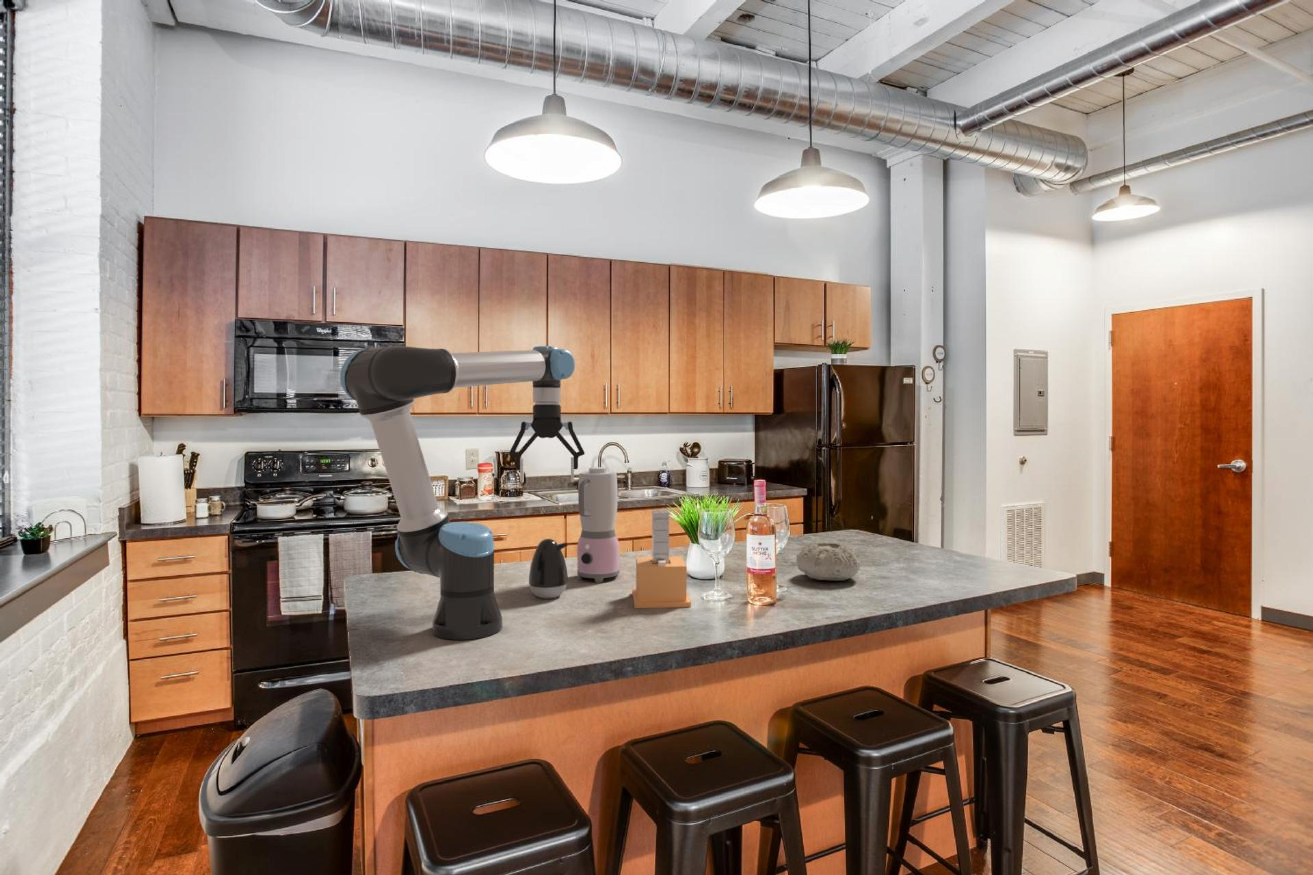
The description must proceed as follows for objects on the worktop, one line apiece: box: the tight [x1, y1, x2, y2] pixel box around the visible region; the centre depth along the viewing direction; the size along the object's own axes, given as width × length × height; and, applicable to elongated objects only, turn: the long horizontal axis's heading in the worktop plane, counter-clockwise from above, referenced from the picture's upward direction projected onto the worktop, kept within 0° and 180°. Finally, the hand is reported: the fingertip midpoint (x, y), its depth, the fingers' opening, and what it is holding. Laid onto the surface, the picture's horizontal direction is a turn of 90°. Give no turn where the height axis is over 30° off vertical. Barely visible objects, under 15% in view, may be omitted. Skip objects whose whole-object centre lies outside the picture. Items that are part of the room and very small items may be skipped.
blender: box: [576, 466, 620, 583], centre depth 208 cm, size 16×12×32 cm
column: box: [651, 509, 670, 564], centre depth 185 cm, size 6×4×22 cm
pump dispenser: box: [528, 538, 569, 600], centre depth 189 cm, size 10×10×15 cm
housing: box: [631, 555, 692, 609], centre depth 185 cm, size 14×14×11 cm
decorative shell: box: [796, 541, 861, 582], centre depth 208 cm, size 18×18×10 cm
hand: (547, 481), depth 196 cm, fingers open, 13 cm apart
